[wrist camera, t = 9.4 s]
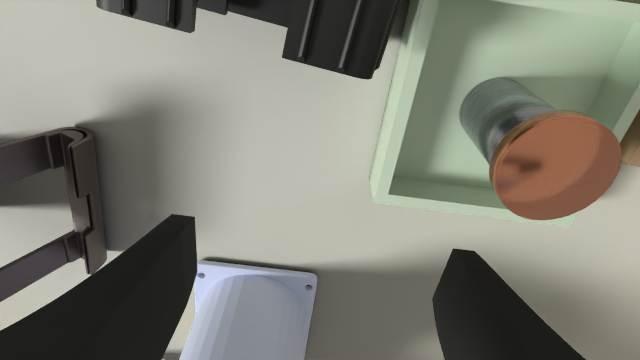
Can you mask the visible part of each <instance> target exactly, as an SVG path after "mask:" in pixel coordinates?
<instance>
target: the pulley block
mask: <svg viewBox="0 0 640 360" xmlns="http://www.w3.org/2000/svg"><path fill="white" fill-rule="evenodd" d="M619 144H620V148H621V161H623V162H624V163H625V164H627V165H632V166H639V167H640V109H639V111H638V113H637V114H636V116H635V118H634V120H633V121H632V123H631V125H630V126H629V128H628V130H627V131H626V133H625V135H624V136H623V138H622V140H621V142H620V143H619Z"/></svg>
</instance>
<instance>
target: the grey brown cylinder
mask: <svg viewBox="0 0 640 360" xmlns="http://www.w3.org/2000/svg"><path fill="white" fill-rule="evenodd" d="M459 119H460V123H461V126H462V128H463V129H464V131H465V132H466V134H467V135H468V136H469V138H470V139H471V141H472V142H473V143H474V145H475V146H476V147H477V149H478V150H479V151H480V153H481V154H482V156H483V157H484V158H485V160H486V161H487V162H488V164H489V179H490V183H491V185H492V188H493V189H494V191H495V192H496V194H497V195H498V197H499V198H500V200H501V201H502V203H503V204H504V206H505V207H506V208H507V209H508V210H510V211H511V212H512V213H514V214H516V215H518V216H520V217H523V218H526V219H531V220H553V219H558V218H562V217H566V216H569V215H571V214H574V213H576V212H578V211H580V210H582V209H584V208H586V207H587V206H589V205H590V204H592V203H593V202H594V201H596V200H597V199H598V198H599V197H600V196H602V195H603V194H604V192H605V191H606V190H607V189H608V188H609V187H610V185H611V184H612V182H613V181H614V179H615V177H616V175H617V173H618V171H619V168H620V164H621V148H620V144H619V142H618V139H617V138H616V136H615V135H614V133H613V132H612V131H611V130H609V129H608V128H607V127H605V126H604V125H602V124H601V123H599V122H597V121H596V120H594V119H593V118H591V117H590V116H588V115H586V114H583V113H580V112H576V111H570V110H557V109H555V108H554V107H552V106H551V105H550V104H548V103H547V102H545V101H544V100H542V99H541V98H540V97H538V96H537V95H535V94H534V93H532V92H531V91H529V90H528V89H527V88H525V87H524V86H522V85H521V84H519V83H518V82H516V81H515V80H512V79H509V78H504V77H498V78H492V79H488V80H486V81H483V82H481V83H479V84H478V85H477V86H475V87H474V88H473V89H472V90H471V91H470V92H469V93H468V94H467V95H466V97H465V98H464V100H463V102H462V104H461V107H460V112H459Z"/></svg>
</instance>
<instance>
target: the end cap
mask: <svg viewBox="0 0 640 360" xmlns="http://www.w3.org/2000/svg"><path fill="white" fill-rule="evenodd" d="M96 2H97V7H99V8H101V9H103V10H106V11H109V12H113V13H116V14H120V15H124V16H128V17H131V18H135V19H139V20H143V21H146V22H150V23H154V24H158V25H161V26H165V27H169V28H173V29H176V30H180V31H184V32H188V33H191V32H193V31H195V19H196V7H197V8H201V9H204V10H208V11H212V12H215V13H219V14H223V15H226V14H227V12H228V11H229V12H233V13H237V14H240V15H244V16H248V17H251V18H255V19H258V20H262V21H266V22H269V23H273V24H277V25H280V26H284V27H287V28H288V30H287V35H286V40H285V45H284V50H283V55H282V58H285V59H289V60H292V61H296V62H300V63H304V64H307V65H311V66H315V67H319V68H322V69H326V70H330V71H334V72H337V73H341V74H345V75H349V76H352V77H356V78H361V79H371V78H372V76H373V73H374V71H375V70H376V69H378V68H379V66H380V63H381V60H382V57H383V54H384V51H385V48H386V45H387V42H388V39H389V36H390V33H391V30H392V27H393V24H394V21H395V18H396V15H397V12H398V9H399V6H400V3H401V0H96Z"/></svg>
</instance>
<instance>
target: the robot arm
mask: <svg viewBox="0 0 640 360" xmlns="http://www.w3.org/2000/svg"><path fill="white" fill-rule="evenodd" d="M201 273H204V274H201ZM193 284H194V288H195V306H196V317H195V319H194V322H193V324H192V327H191V330H190V332H189V335H188V338H187V340H186V343H185V345H184V348H183V351H182V353H181V356H180V359H179V360H304V356H305V350H306V344H307V339H308V333H309V327H310V322H311V316H312V310H313V305H314V299H315V293H316V288H317V276H316V275H315V274H313V273H308V272H299V271H291V270H282V269H273V268H265V267H256V266H247V265H239V264H230V263H221V262H213V261H204V260H199V261H197V252H196V233H195V217H191V216H183V215H174V214H172V215H171V216H169V217H168V218H166V219H165V220H164V221H163V222H161V223H160V224H159V225H157V226H156V227H155V228H154V229H152V230H151V231H150V232H149V233H147V234H146V235H145V236H144V237H142V238H141V239H140V240H138V241H137V242H136V243H135V244H133V245H132V246H131V247H129V248H128V249H127V250H125V251H124V252H123V253H121V254H120V255H119V256H118V257H116V258H115V259H114V260H112V261H111V262H110V263H108V264H107V265H105V266H104V267H103V268H101V269H100V270H98V271H97V272H96V273H94V274H93V275H91V276H90V277H88V278H87V279H85V280H84V281H82V282H81V283H80V284H78V285H77V286H75V287H74V288H72V289H71V290H69V291H68V292H66V293H65V294H63V295H62V296H60V297H58V298H57V299H55V300H54V301H52V302H50V303H49V304H47V305H45V306H44V307H42V308H40V309H38V310H37V311H35V312H33V313H32V314H30V315H28V316H27V317H25V318H23V319H21V320H20V321H18V322H16V323H14V324H12V325H10V326H9V327H7V328H5V329H3V330H1V331H0V360H161V359H162V357H163V355H164V353H165V351H166V349H167V347H168V344H169V342H170V340H171V338H172V336H173V334H174V332H175V329H176V327H177V325H178V323H179V321H180V319H181V316H182V314H183V312H184V310H185V308H186V305H187V302H188V300H189V297H190V294H191V291H192V288H193ZM307 285H311V286H307ZM432 300H433V307H434V315H435V321H436V327H437V333H438V337H439V341H440V344H441V348H442V351H443V355H444V358H445V360H586V359H584V358H583V357H582V356H581V355H580V354H579V353H578V352H576V351H575V350H574V349H573V348H572V347H571V346H570V345H569V344H568V343H567V342H565V341H564V340H563V339H562V338H561V337H560V336H559V335H558V334H557V333H556V332H555V331H554V330H552V329H551V328H550V327H549V326H548V325H547V324H546V323H545V322H544V321H543V320H542V319H541V318H540V317H539V316H538V315H537V314H536V313H535V312H534V311H533V310H532V309H531V308H530V307H529V306H528V305H527V304H526V303H525V302H524V301H523V300H522V299H521V298H520V297H519V296H518V295H517V294H516V293H515V292H514V291H513V290H512V289H511V288H510V287H509V286H508V285H507V284H506V283H505V282H504V280H503V279H502V278H501V277H500V276H499V275H498V274H497V273H496V272H495V271H494V270H493V269H492V268H491V267H490V266H489V265H488V264H487V263H486V262H485V261H484V260H483V259H482V258H481V257H480V256H479V255H478V254H477V253H476V252H475V251H469V250H461V249H453V250H452V253H451V255H450V257H449V260H448V262H447V265H446V267H445V269H444V272H443V274H442V277H441V279H440V282H439V284H438V286H437V289H436V291H435V294H434V296H433V298H432Z"/></svg>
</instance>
